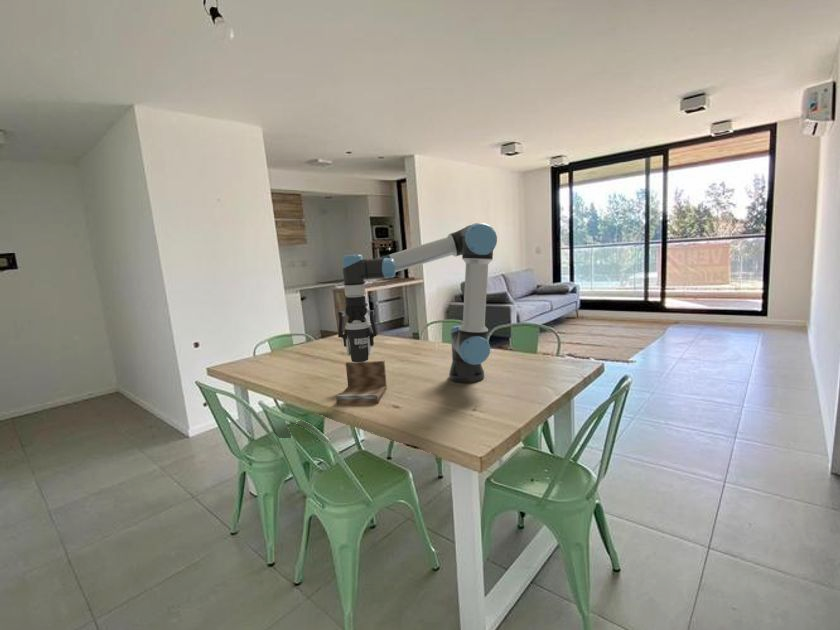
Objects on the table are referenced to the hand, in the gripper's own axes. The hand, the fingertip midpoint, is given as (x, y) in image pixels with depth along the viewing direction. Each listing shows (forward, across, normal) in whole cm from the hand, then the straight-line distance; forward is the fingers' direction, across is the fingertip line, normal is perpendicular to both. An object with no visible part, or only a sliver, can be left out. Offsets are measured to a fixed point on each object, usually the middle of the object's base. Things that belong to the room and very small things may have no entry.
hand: (359, 354), depth 163 cm
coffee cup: (+2, 0, 0) cm, 2 cm away
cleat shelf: (+18, +1, -3) cm, 18 cm away
